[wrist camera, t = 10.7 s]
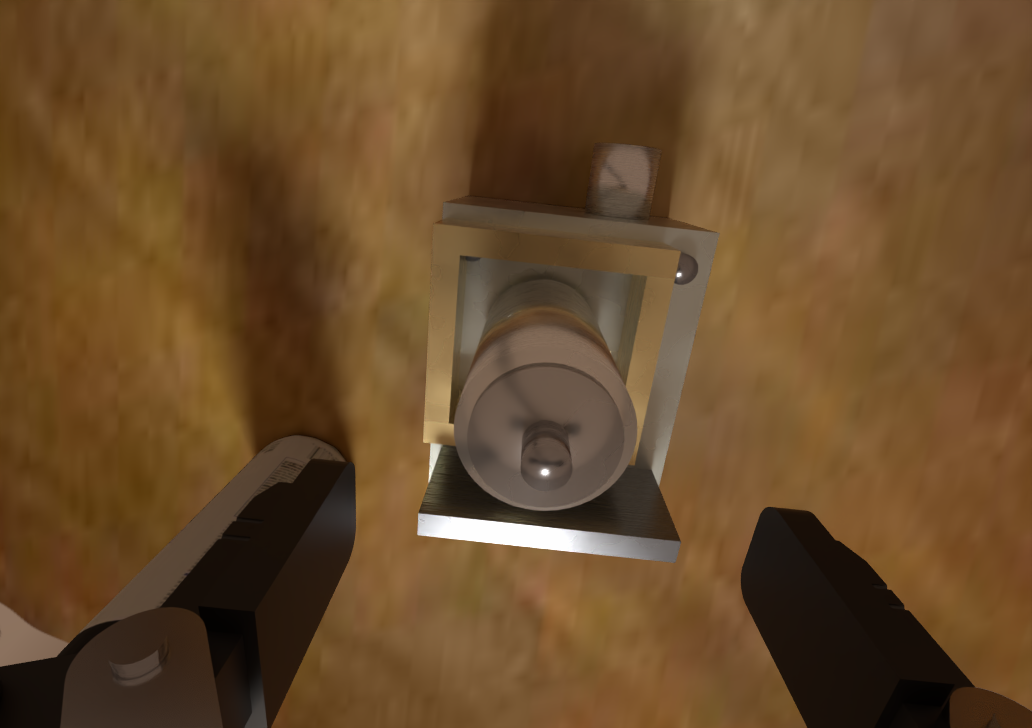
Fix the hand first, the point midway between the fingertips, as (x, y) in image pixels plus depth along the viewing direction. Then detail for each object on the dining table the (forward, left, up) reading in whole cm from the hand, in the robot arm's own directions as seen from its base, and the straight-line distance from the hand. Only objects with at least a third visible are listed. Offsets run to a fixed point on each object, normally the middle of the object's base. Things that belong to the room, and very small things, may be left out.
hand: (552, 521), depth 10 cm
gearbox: (+1, +1, -21) cm, 21 cm away
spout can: (0, 0, -13) cm, 13 cm away
